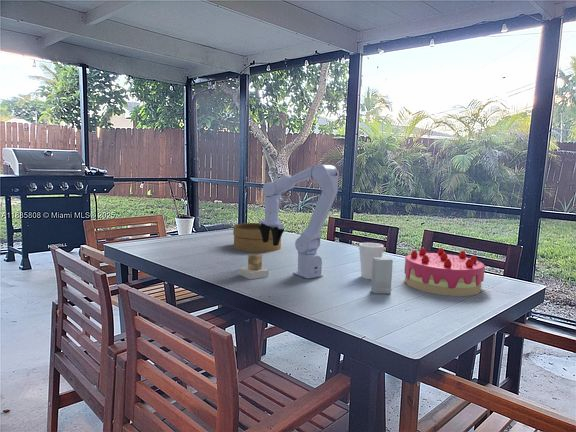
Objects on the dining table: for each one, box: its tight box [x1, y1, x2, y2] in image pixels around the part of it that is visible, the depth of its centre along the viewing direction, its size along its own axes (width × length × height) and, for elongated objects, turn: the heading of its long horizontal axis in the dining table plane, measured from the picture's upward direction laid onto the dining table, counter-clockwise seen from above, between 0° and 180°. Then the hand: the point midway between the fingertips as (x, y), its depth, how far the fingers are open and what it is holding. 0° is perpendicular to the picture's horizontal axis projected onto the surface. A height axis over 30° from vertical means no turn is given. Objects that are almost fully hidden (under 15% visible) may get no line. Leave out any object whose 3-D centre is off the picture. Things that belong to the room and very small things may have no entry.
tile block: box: [238, 266, 269, 280], centre depth 162 cm, size 8×8×3 cm
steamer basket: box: [232, 222, 283, 253], centre depth 216 cm, size 25×25×11 cm
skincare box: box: [370, 257, 394, 295], centre depth 146 cm, size 6×4×12 cm
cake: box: [404, 247, 485, 297], centre depth 159 cm, size 28×28×12 cm
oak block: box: [247, 252, 263, 271], centre depth 162 cm, size 4×4×6 cm
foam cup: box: [358, 242, 385, 280], centre depth 166 cm, size 10×9×13 cm
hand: (270, 243), depth 175 cm, fingers open, 7 cm apart
